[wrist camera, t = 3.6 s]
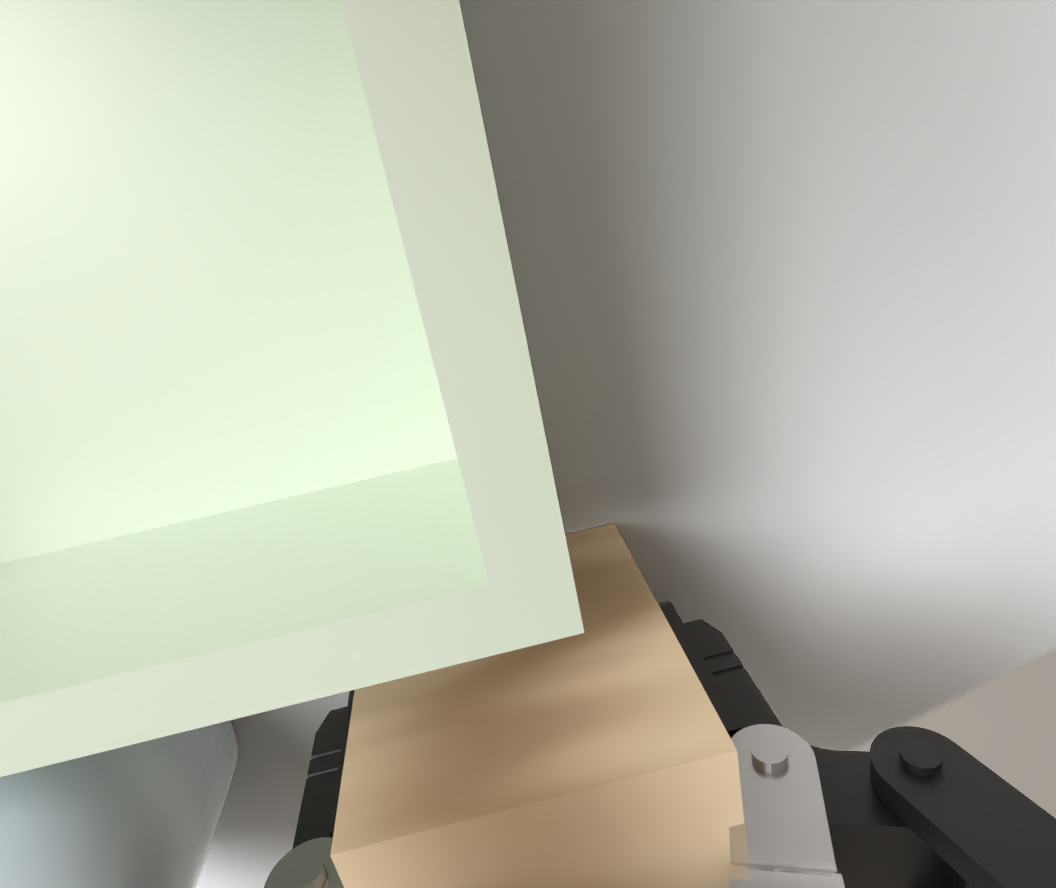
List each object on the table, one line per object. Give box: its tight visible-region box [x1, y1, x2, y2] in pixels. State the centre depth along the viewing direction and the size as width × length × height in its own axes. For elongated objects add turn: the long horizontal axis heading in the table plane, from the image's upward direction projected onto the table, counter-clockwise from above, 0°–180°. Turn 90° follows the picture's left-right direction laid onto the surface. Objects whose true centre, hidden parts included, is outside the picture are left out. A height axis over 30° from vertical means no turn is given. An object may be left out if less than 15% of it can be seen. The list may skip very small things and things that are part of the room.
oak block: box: [330, 523, 744, 888], centre depth 12 cm, size 5×5×6 cm
